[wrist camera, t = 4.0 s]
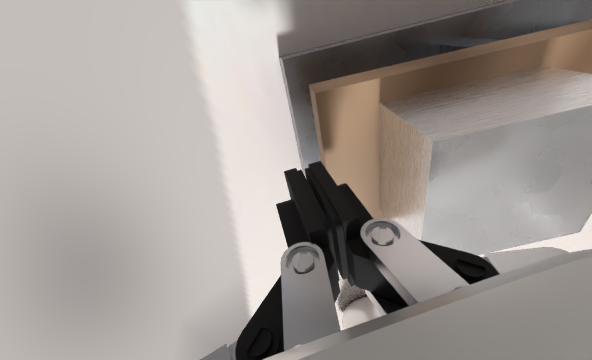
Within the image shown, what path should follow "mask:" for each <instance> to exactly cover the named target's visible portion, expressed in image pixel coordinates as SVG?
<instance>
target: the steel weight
mask: <svg viewBox="0 0 592 360" xmlns="http://www.w3.org/2000/svg"><path fill="white" fill-rule="evenodd" d="M379 137H380V210H381V211H382V213H383V214H384V216H385V218H386V219H390V220H393V221H395V222H397V223H399V224H400V225H401V226H402V227H404V228H405V229H406V230H407V231H408V232H409V233H410V234H412V235H413V236H414V237H415V238H416V239H418V240H422V241H426V242H429V243H433V244H437V245H441V246H445V247H449V248H453V249H456V250H460V251H464V252H468V253H472V254H474V255H481V254H485V253H490V252H494V251H498V250H503V249H507V248H512V247H516V246H520V245H525V244H529V243H534V242H538V241H542V240H547V239H551V238H556V237H560V236H565V235H569V234H573V233H578V232H580V231H581V230H582V228H583V226H584V225H585V223H586V221H587V220H588V218H589V217H590V215H591V213H592V74H588V73H583V72H577V71H571V70H565V69H559V68H554V67H548V66H542V65H540V66H536V67H532V68H527V69H523V70H519V71H514V72H510V73H506V74H501V75H497V76H493V77H488V78H484V79H480V80H475V81H471V82H467V83H462V84H458V85H454V86H449V87H445V88H441V89H436V90H432V91H428V92H423V93H419V94H415V95H410V96H406V97H402V98H397V99H393V100H389V101H384V102H380V103H379Z"/></svg>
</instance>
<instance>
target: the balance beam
mask: <svg viewBox="0 0 592 360" xmlns="http://www.w3.org/2000/svg"><path fill="white" fill-rule="evenodd" d="M540 65H542V66H548V67H554V68H559V69H565V70H571V71H577V72H583V73H588V74H592V19H591V20H587V21H582V22H578V23H574V24H569V25H565V26H561V27H556V28H552V29H548V30H543V31H539V32H535V33H530V34H526V35H522V36H517V37H513V38H509V39H504V40H500V41H496V42H491V43H487V44H483V45H478V46H474V47H470V48H465V49H461V50H457V51H452V52H448V53H444V54H439V55H435V56H431V57H426V58H422V59H418V60H413V61H409V62H405V63H400V64H396V65H392V66H387V67H383V68H379V69H374V70H370V71H366V72H362V73H357V74H353V75H349V76H344V77H340V78H336V79H331V80H327V81H323V82H318V83H314V84H310V85H309V89H310V95H311V101H312V108H313V114H314V120H315V127H316V133H317V139H318V146H319V152H320V158H321V162H322V164H323V165H324V167H325V168H326V170H327V171H328V172H329V174H330V175H331V177H332V178H333V180H334V181H335V183H336V184H337V185H341V184H344V183H346V184H347V185H348V186H349V187H350V188H351V190H352V191H353V192H354V194H355V195H356V196H357V198H358V199H359V200H360V201H361V203H362V204H363V205H364V207H365V208H366V209H367V211H368V212H369V213H370V215H371V216H372V217H373V219H375V218H385V216H384V214H383V213H382V211H381V210H380V137H379V103H380V102H384V101H389V100H393V99H397V98H402V97H406V96H410V95H415V94H419V93H423V92H428V91H432V90H436V89H441V88H445V87H449V86H454V85H458V84H462V83H467V82H471V81H475V80H480V79H484V78H488V77H493V76H497V75H501V74H506V73H510V72H514V71H519V70H523V69H527V68H532V67H536V66H540Z"/></svg>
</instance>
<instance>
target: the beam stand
mask: <svg viewBox="0 0 592 360" xmlns="http://www.w3.org/2000/svg"><path fill="white" fill-rule="evenodd" d="M591 19H592V0H507V1H503V2H499V3H495V4H491V5H487V6H483V7H479V8H475V9H471V10H467V11H463V12H459V13H455V14H451V15H447V16H443V17H439V18H435V19H431V20H427V21H423V22H419V23H415V24H411V25H407V26H403V27H399V28H395V29H391V30H387V31H383V32H379V33H375V34H371V35H367V36H363V37H359V38H355V39H351V40H347V41H343V42H339V43H335V44H331V45H327V46H323V47H319V48H315V49H311V50H307V51H303V52H299V53H295V54H291V55H287V56H283V57H279V60H280V65H281V69H282V74H283V79H284V84H285V88H286V93H287V98H288V103H289V108H290V112H291V117H292V122H293V127H294V131H295V136H296V141H297V146H298V151H299V155H300V160H301V165H302V170H303V173H304V174H305V169H306V168H308V164H311V163H315V162H318V161H321V158H320V152H319V146H318V139H317V133H316V127H315V120H314V114H313V108H312V101H311V95H310V89H309V85H310V84H314V83H318V82H323V81H327V80H331V79H336V78H340V77H344V76H349V75H353V74H357V73H362V72H366V71H370V70H374V69H379V68H383V67H387V66H392V65H396V64H400V63H405V62H409V61H413V60H418V59H422V58H426V57H431V56H435V55H439V54H444V53H448V52H452V51H457V50H461V49H465V48H470V47H474V46H478V45H483V44H487V43H491V42H496V41H500V40H504V39H509V38H513V37H517V36H522V35H526V34H530V33H535V32H539V31H543V30H548V29H552V28H556V27H561V26H565V25H569V24H574V23H578V22H582V21H587V20H591ZM305 176H306V174H305Z"/></svg>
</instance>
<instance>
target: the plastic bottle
mask: <svg viewBox="0 0 592 360" xmlns="http://www.w3.org/2000/svg"><path fill="white" fill-rule="evenodd" d="M378 317H381V314H380V313H379V312H378V310H377V309H376V307H375V306H374V305H373V303H372V302H371V300H370V299H369V298H368V296H367V297H363V298H360V299H358V300H356V301H354V302H352V303H351V304H349V305H348V306H347V307H346V309H345V310H344V312H343V317H342V324H343V328H344V330H345V329H347V328H350V327H353V326H356V325H359V324H361V323H364V322H367V321H370V320H372V319H375V318H378Z"/></svg>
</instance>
